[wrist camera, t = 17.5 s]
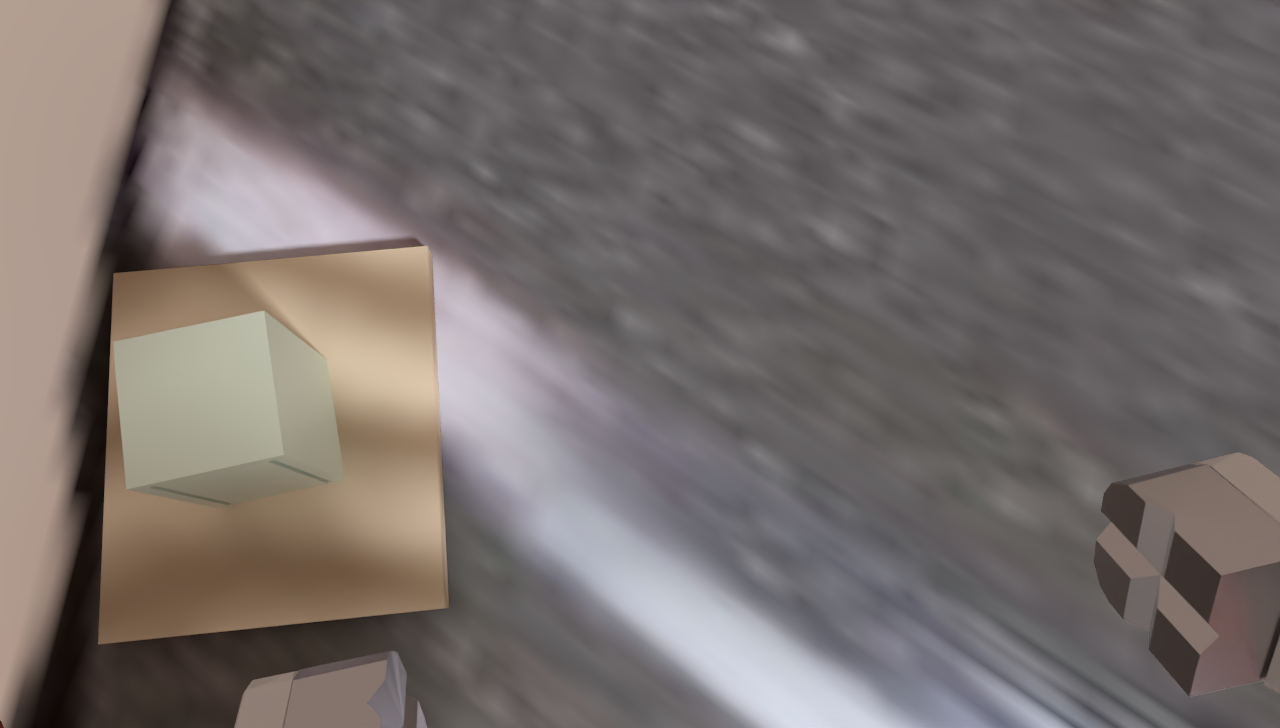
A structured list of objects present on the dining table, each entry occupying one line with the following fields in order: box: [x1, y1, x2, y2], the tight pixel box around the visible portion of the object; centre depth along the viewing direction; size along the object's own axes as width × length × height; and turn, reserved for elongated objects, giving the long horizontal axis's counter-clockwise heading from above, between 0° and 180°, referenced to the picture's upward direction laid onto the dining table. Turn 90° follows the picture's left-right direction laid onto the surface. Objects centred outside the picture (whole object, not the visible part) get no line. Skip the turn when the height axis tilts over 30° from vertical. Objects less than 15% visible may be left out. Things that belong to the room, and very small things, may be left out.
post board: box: [98, 246, 449, 644], centre depth 37 cm, size 16×14×6 cm
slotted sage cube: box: [113, 311, 345, 508], centre depth 36 cm, size 5×5×7 cm
